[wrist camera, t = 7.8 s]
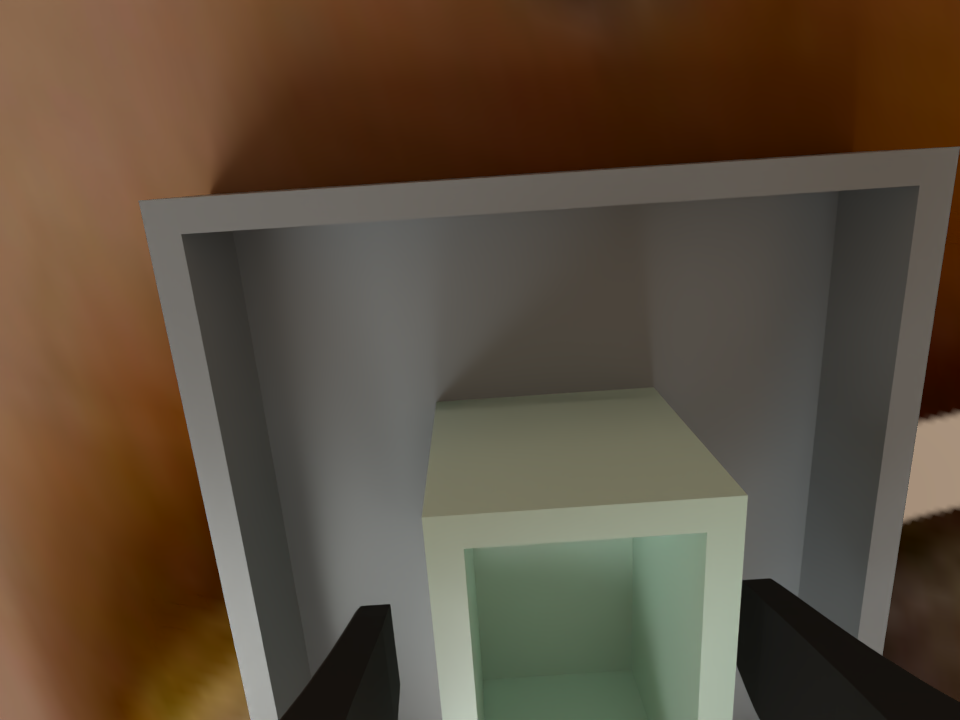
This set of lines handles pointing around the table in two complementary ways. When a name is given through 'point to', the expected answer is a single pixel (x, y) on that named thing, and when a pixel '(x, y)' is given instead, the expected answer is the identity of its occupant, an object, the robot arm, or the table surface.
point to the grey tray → (545, 368)
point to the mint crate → (581, 560)
